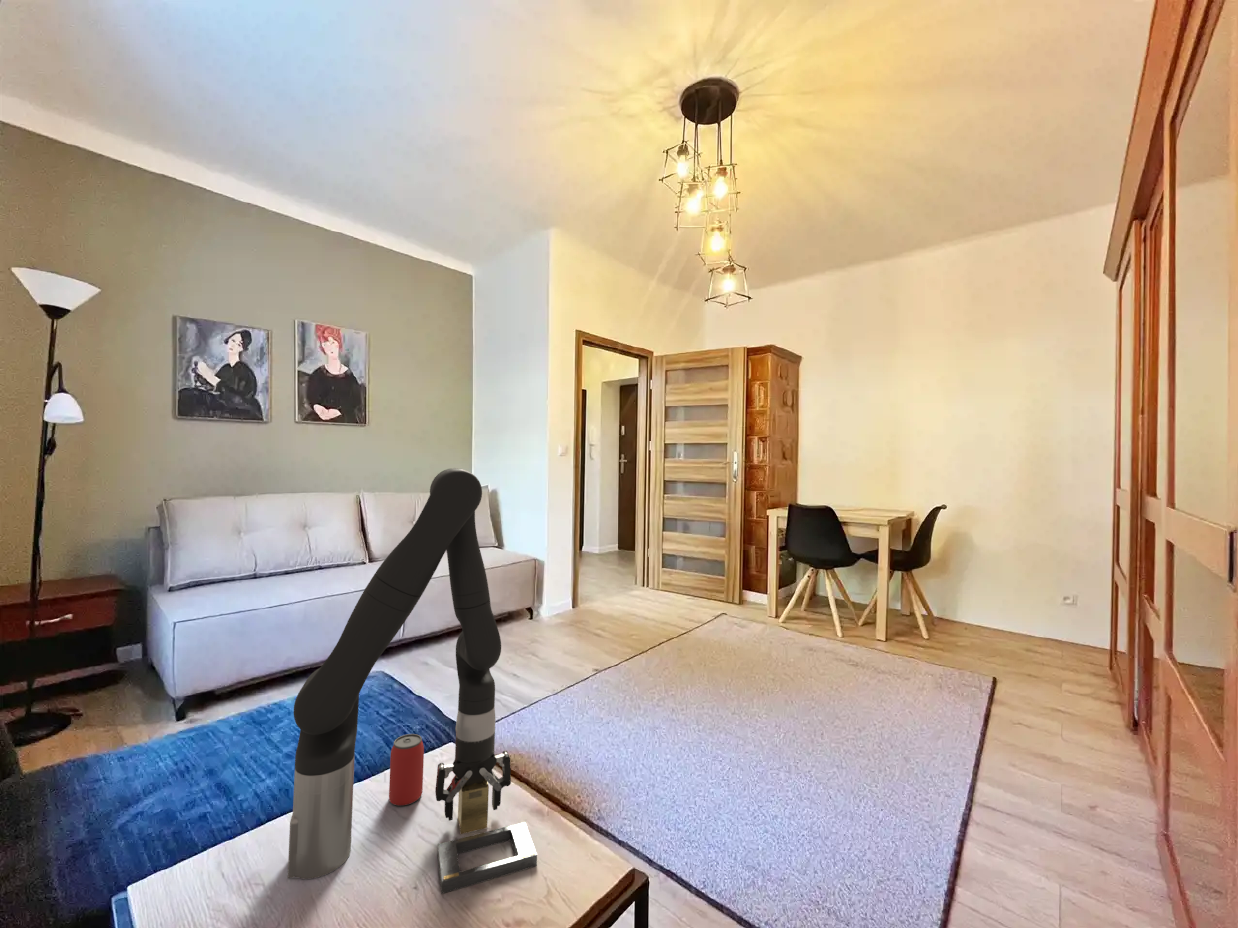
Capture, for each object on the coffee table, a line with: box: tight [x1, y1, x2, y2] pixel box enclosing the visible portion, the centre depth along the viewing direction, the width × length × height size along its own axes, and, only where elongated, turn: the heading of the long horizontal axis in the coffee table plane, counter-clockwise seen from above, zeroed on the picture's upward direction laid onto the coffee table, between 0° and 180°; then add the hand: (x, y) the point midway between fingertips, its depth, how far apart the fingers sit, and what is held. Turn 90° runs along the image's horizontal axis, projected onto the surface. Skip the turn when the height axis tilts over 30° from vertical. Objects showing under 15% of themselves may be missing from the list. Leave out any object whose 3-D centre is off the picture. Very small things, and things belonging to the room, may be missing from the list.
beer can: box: [388, 733, 425, 807], centre depth 107 cm, size 7×7×12 cm
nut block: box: [457, 779, 490, 835], centre depth 100 cm, size 5×5×8 cm
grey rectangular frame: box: [436, 821, 538, 894], centre depth 90 cm, size 16×9×2 cm, turn 114°
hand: (472, 812), depth 100 cm, fingers open, 8 cm apart
